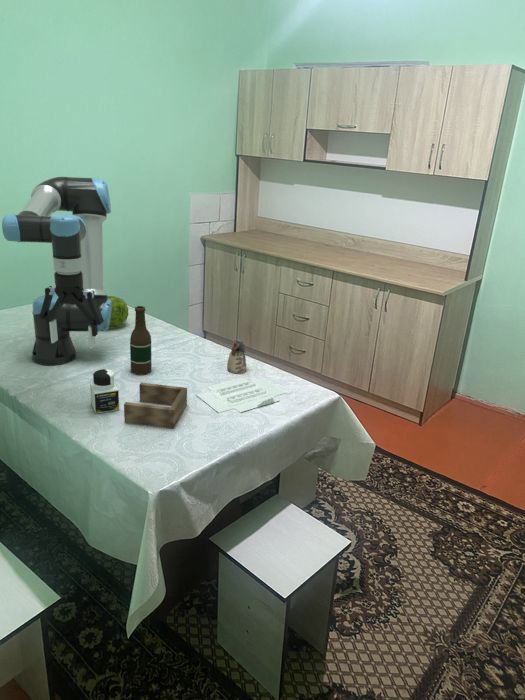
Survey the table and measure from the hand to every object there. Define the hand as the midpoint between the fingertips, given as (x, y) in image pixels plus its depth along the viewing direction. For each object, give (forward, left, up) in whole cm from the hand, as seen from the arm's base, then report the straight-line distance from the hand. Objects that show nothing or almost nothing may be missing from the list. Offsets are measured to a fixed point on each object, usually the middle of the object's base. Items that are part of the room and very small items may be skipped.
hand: (73, 343), depth 158 cm
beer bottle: (+11, +28, -20) cm, 36 cm away
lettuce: (-19, +72, -20) cm, 77 cm away
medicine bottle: (+9, 0, -20) cm, 22 cm away
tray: (+49, +19, -21) cm, 57 cm away
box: (+25, 0, -20) cm, 32 cm away
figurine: (+44, +38, -20) cm, 61 cm away
